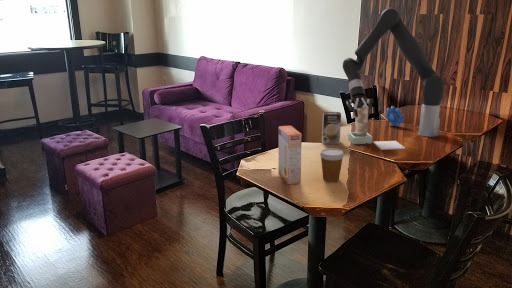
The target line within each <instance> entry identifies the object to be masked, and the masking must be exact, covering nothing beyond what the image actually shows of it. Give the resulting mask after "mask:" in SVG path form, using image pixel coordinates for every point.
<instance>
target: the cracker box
mask: <svg viewBox="0 0 512 288" xmlns="http://www.w3.org/2000/svg"><path fill="white" fill-rule="evenodd" d="M302 136H303V135H302V133H301V132H300V131H299V130H297V129H296V128H295V127H294V126H293V125H281V126H278V170H277V171H278V175H280V177H281V178H282V180H284V181H285V183H286V185H298V184H301V183H302V182H301V181H302V140H303V139H302V138H303V137H302Z"/></svg>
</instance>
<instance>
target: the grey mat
mask: <svg viewBox="0 0 512 288" xmlns="http://www.w3.org/2000/svg"><path fill="white" fill-rule="evenodd" d="M372 144H374V145H375V146H376V147H377V148H378V149H379V150H381V151H382V150H383V151H385V150H405V149H406V147H405V146H403V144H401V143H399V142H398V141H397V140H384V141H383V140H382V141H379V140H378V141H372Z"/></svg>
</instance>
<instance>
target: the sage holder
mask: <svg viewBox="0 0 512 288" xmlns="http://www.w3.org/2000/svg"><path fill="white" fill-rule="evenodd" d="M347 139H348V140H349V141H350V142H351V143H352V145H360V144H363V145H365V144H366V143H367V144H373V136H372V135H371V134H370V133H369V132H367V134H357V133H356V132H355V131H353V132H352V131H350V132H349V131H348V135H347Z"/></svg>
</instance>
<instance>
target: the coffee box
mask: <svg viewBox="0 0 512 288" xmlns="http://www.w3.org/2000/svg"><path fill="white" fill-rule="evenodd" d="M341 123H342V113H341V112H340V111H322V123H321V124H322V125H321V126H322V127H321V128H322V130H321V144H323V145H340V143H341V142H340V139H341V127H342V124H341Z"/></svg>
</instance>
